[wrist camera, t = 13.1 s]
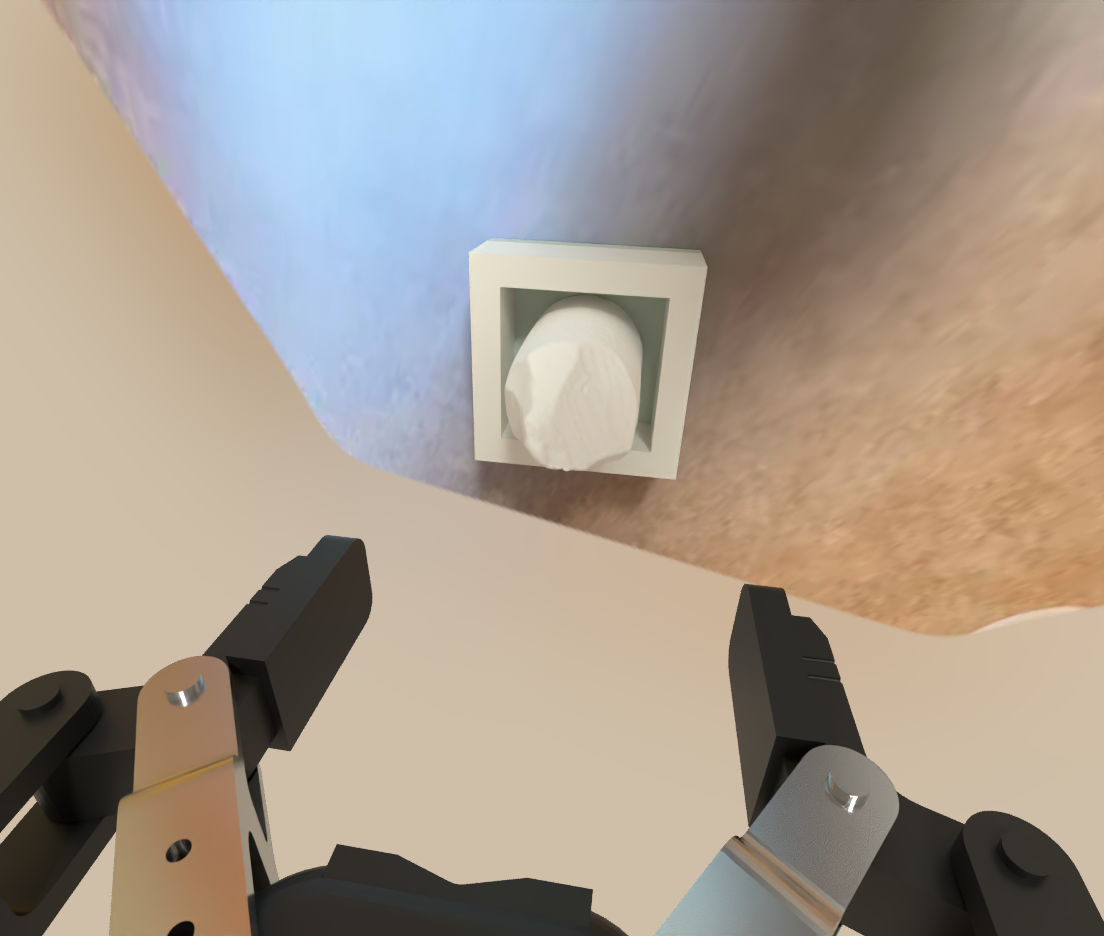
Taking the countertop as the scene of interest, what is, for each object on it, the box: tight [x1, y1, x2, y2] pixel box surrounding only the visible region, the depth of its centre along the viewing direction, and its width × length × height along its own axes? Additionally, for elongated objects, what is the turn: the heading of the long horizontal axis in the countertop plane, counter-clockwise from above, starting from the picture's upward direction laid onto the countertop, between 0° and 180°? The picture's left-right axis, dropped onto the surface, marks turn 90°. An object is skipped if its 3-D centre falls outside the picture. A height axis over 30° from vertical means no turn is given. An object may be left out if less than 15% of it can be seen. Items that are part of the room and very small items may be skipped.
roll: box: [504, 295, 644, 471], centre depth 27 cm, size 6×12×6 cm
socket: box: [469, 238, 708, 480], centre depth 31 cm, size 10×10×4 cm
